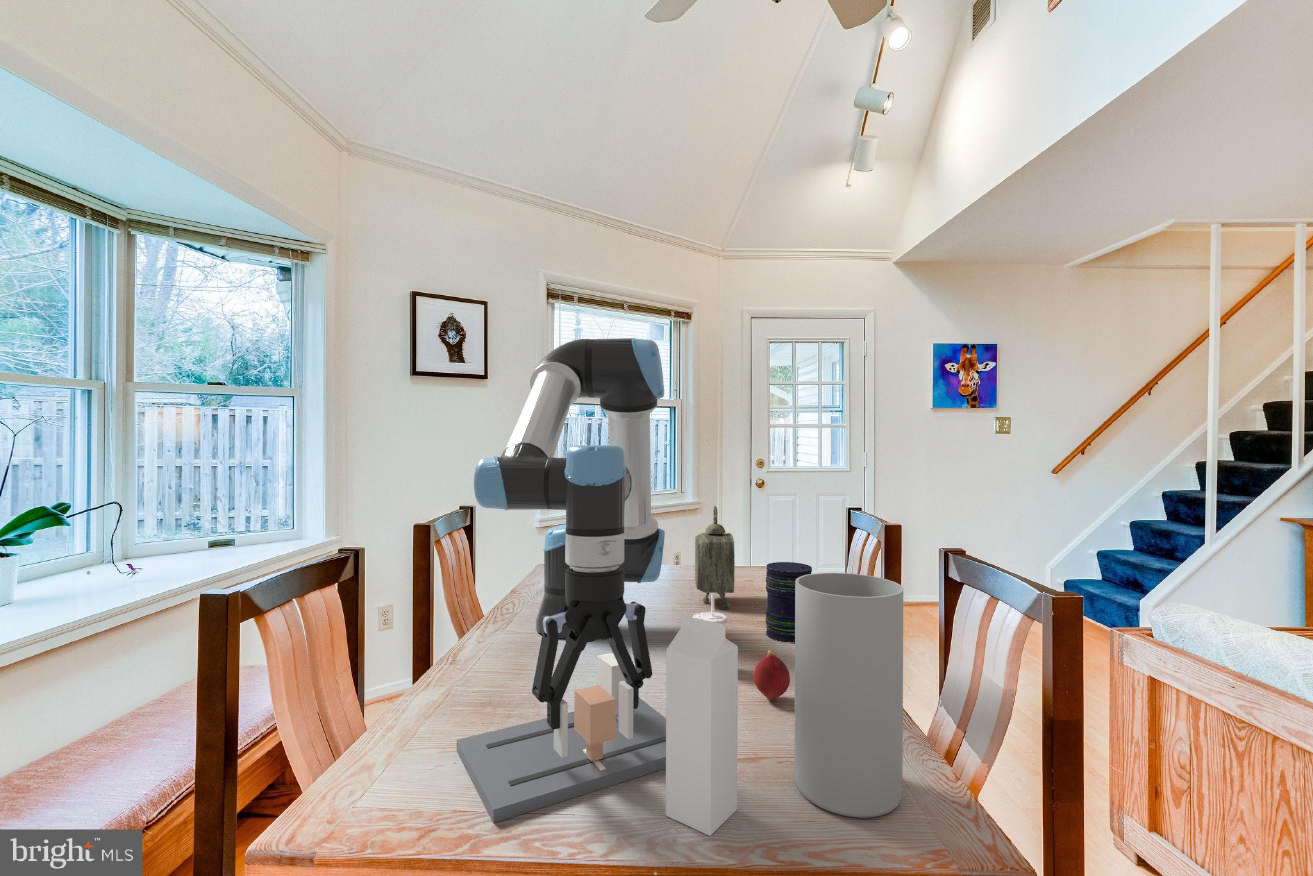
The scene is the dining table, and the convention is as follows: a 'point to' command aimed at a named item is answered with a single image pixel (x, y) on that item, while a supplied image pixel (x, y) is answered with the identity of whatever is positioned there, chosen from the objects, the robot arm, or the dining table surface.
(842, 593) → the cylinder vase
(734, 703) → the milk
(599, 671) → the block
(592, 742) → the fader
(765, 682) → the onion
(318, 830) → the dining table surface
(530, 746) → the console
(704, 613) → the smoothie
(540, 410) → the robot arm
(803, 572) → the storage jar
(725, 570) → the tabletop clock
